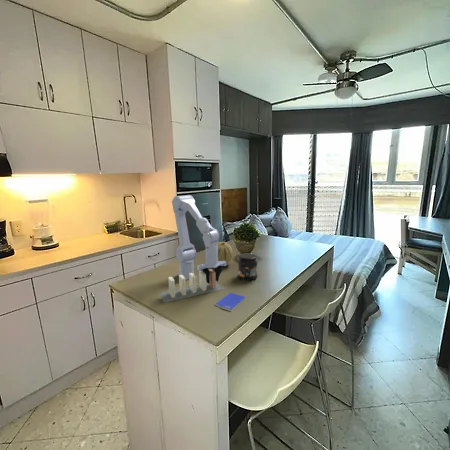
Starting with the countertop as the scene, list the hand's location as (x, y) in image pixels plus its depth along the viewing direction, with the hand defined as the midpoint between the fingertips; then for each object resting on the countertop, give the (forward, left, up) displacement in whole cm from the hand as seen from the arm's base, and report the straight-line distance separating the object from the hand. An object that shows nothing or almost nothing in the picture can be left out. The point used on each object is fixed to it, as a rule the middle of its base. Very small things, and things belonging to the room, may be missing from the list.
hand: (212, 281), depth 123 cm
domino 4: (0, -5, -2) cm, 6 cm away
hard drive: (+17, +1, -4) cm, 18 cm away
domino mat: (0, -11, -3) cm, 11 cm away
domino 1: (0, -20, -2) cm, 20 cm away
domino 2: (0, -15, -2) cm, 15 cm away
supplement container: (-3, +22, -3) cm, 22 cm away
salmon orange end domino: (0, 0, -2) cm, 3 cm away
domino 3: (0, -10, -2) cm, 10 cm away
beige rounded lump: (-26, +17, -3) cm, 31 cm away
